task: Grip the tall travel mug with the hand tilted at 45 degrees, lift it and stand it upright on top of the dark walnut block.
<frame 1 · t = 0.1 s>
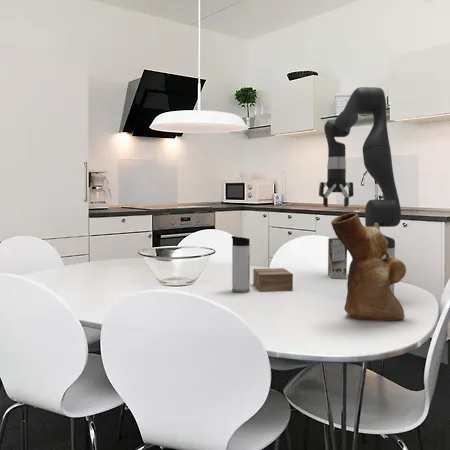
hand: (335, 206, 218), 29 cm above the table, tool pointing down, fingers open, 8 cm apart
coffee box: (337, 277, 218), on the table
travel mug: (240, 291, 186), on the table
walnut block: (272, 287, 194), on the table
ceramic vessel: (365, 317, 148), on the table
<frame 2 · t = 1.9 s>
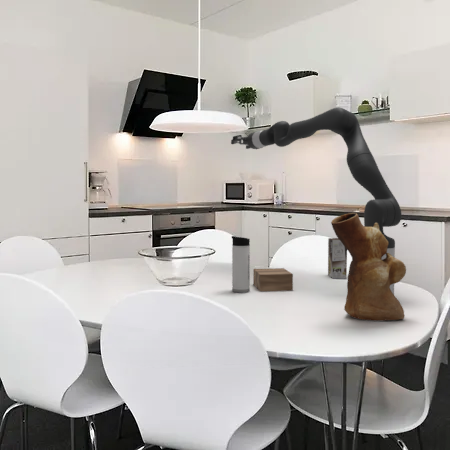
hand: (239, 144, 247), 58 cm above the table, tool horizontal, fingers open, 8 cm apart
nothing on the table moved.
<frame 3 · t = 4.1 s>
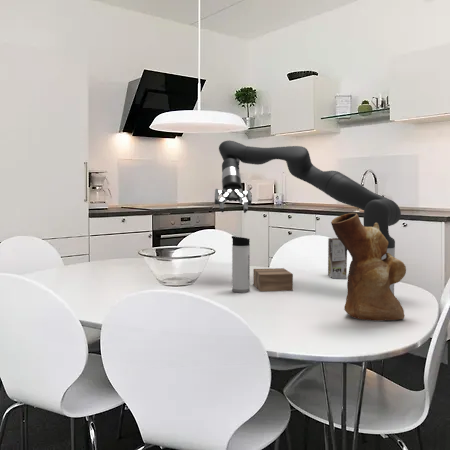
hand: (234, 211, 195), 28 cm above the table, tool tilted 45°, fingers open, 8 cm apart
nothing on the table moved.
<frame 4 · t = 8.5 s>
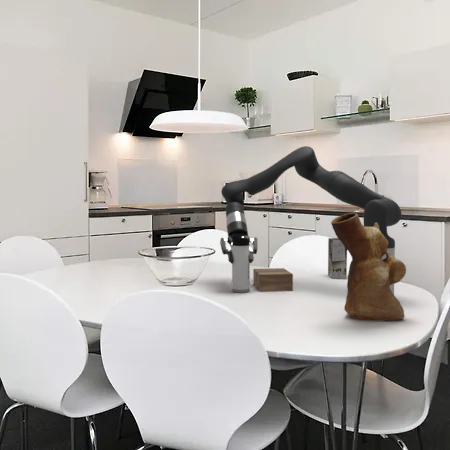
hand: (241, 261, 184), 11 cm above the table, tool tilted 45°, fingers closed on travel mug, 6 cm apart
travel mug: (240, 291, 187), on the table, touching gripper
everything else where it was.
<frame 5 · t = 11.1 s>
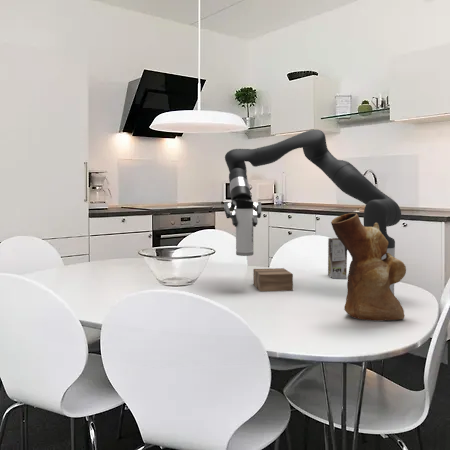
hand: (245, 225, 184), 24 cm above the table, tool tilted 45°, fingers closed on travel mug, 6 cm apart
travel mug: (244, 255, 186), point 13 cm above the table, touching gripper
everything else where it was.
when the fingers open (18 cm above the table, at t = 14.0 s): travel mug drops 1 cm, resting on walnut block.
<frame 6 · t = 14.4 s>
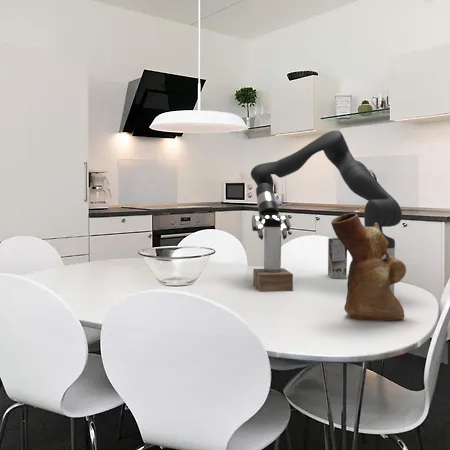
hand: (273, 238, 191), 19 cm above the table, tool tilted 45°, fingers open, 8 cm apart
travel mug: (271, 271, 194), point 6 cm above the table, touching walnut block
everything else where it was.
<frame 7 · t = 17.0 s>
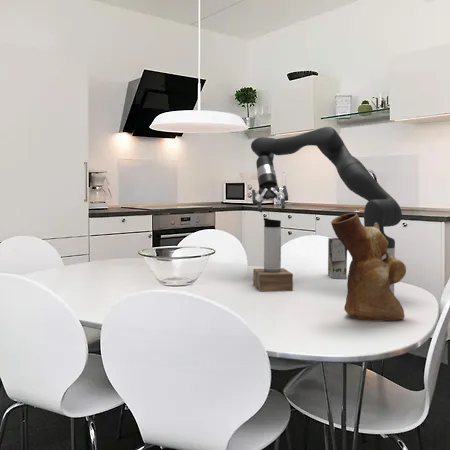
hand: (272, 209, 203), 29 cm above the table, tool tilted 40°, fingers open, 8 cm apart
nothing on the table moved.
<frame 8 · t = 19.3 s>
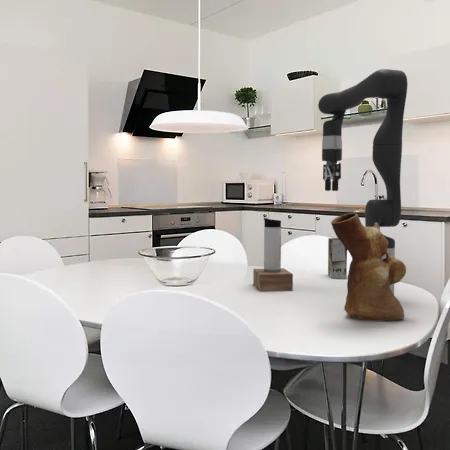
hand: (331, 190, 199), 36 cm above the table, tool pointing down, fingers open, 8 cm apart
nothing on the table moved.
at the end: travel mug inside the target area on the walnut block (0.3 cm from its centre), point 5.8 cm above the walnut block's base; travel mug tilted 0°; the gripper is holding nothing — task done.
